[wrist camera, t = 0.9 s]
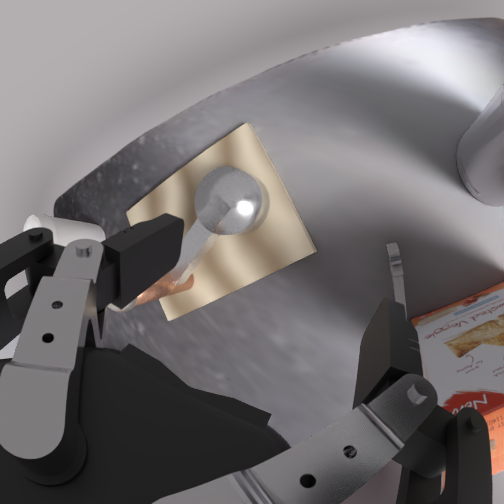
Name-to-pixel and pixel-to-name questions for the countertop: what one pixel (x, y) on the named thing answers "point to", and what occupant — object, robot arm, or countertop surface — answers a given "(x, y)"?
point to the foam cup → (65, 229)
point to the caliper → (396, 273)
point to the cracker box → (468, 360)
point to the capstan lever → (212, 226)
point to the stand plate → (229, 246)
